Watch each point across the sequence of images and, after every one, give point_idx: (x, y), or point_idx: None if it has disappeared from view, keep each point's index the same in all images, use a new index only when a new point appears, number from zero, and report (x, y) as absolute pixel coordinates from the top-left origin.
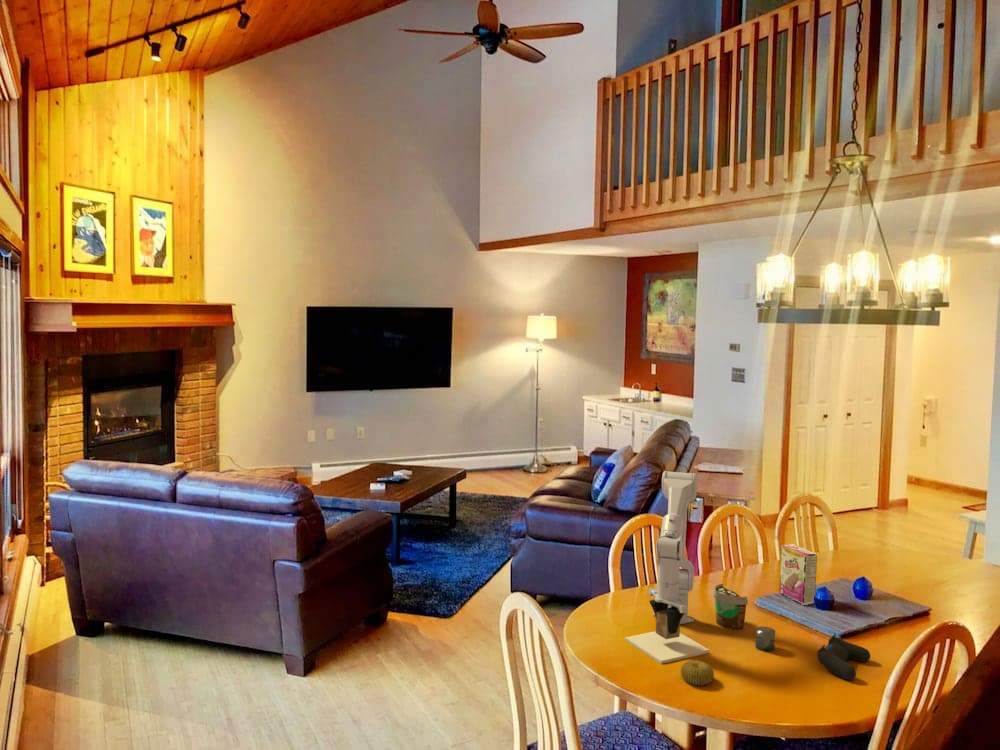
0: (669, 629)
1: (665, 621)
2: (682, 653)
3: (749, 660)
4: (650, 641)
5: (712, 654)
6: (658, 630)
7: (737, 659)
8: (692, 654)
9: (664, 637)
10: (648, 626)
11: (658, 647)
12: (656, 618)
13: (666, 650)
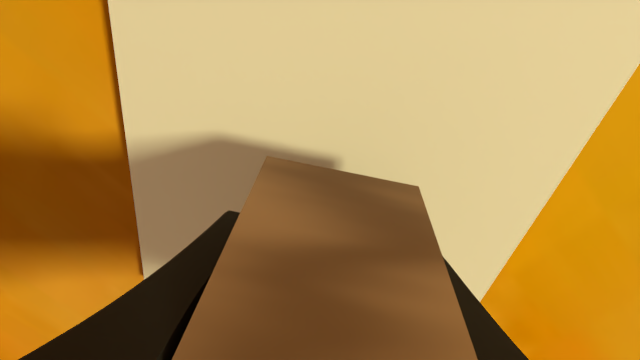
0: (214, 232)
1: (242, 295)
2: (159, 150)
3: (32, 323)
4: (437, 124)
5: (132, 271)
6: (386, 202)
7: (52, 302)
8: (135, 191)
9: (289, 164)
10: (585, 294)
11: (322, 89)
12: (473, 313)
13: (248, 98)
